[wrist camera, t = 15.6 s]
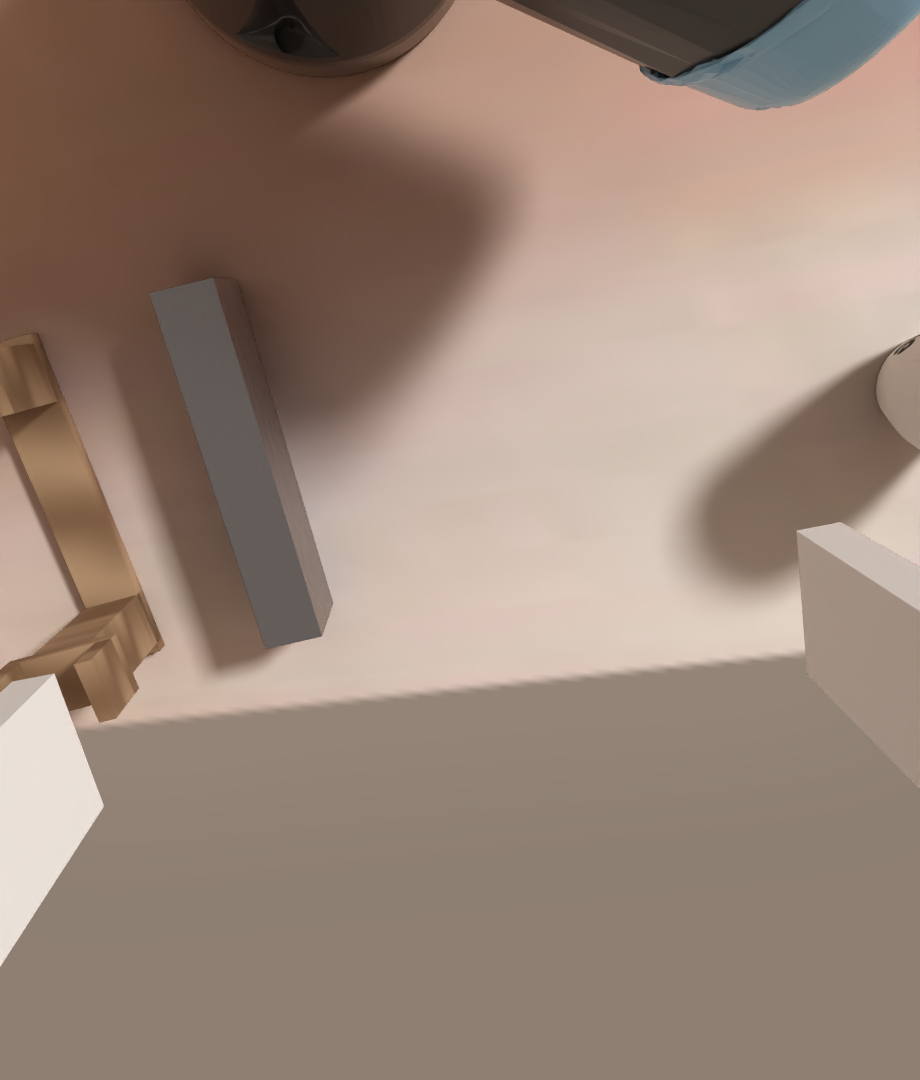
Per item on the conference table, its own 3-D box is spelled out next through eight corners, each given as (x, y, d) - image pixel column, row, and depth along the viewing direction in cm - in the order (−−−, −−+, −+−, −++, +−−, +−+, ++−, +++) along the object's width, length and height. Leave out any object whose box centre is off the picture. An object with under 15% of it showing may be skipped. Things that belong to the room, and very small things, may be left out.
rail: (181, 293, 42) (148, 293, 37) (238, 279, 42) (212, 277, 37) (282, 613, 47) (265, 649, 42) (333, 601, 47) (321, 636, 42)
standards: (-40, 354, 42) (-180, 371, 32) (59, 326, 42) (-53, 335, 32) (95, 663, 47) (8, 757, 38) (184, 639, 47) (120, 727, 37)
